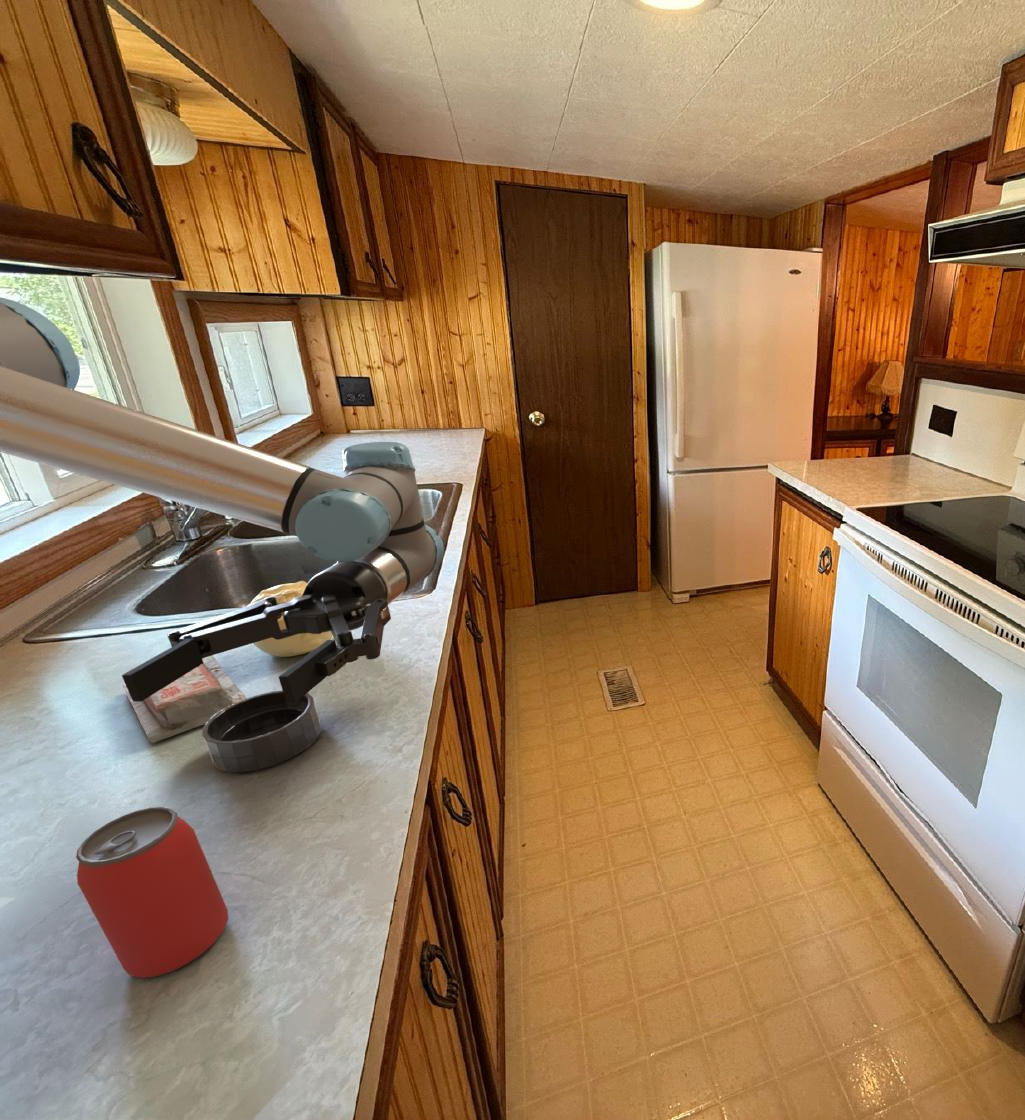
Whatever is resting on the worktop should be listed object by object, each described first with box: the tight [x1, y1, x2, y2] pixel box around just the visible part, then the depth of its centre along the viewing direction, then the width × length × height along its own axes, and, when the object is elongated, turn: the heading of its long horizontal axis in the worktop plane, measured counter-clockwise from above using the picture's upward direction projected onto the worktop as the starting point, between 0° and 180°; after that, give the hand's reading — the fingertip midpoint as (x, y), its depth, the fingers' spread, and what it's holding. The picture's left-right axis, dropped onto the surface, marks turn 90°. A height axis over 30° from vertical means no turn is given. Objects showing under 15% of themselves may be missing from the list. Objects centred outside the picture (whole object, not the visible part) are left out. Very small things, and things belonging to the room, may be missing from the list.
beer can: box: [75, 806, 229, 979], centre depth 48 cm, size 7×7×12 cm
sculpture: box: [247, 580, 333, 658], centre depth 94 cm, size 11×12×11 cm
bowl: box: [201, 689, 322, 773], centre depth 73 cm, size 11×11×4 cm
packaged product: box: [122, 655, 247, 744], centre depth 81 cm, size 18×5×10 cm
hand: (208, 689), depth 52 cm, fingers open, 13 cm apart
